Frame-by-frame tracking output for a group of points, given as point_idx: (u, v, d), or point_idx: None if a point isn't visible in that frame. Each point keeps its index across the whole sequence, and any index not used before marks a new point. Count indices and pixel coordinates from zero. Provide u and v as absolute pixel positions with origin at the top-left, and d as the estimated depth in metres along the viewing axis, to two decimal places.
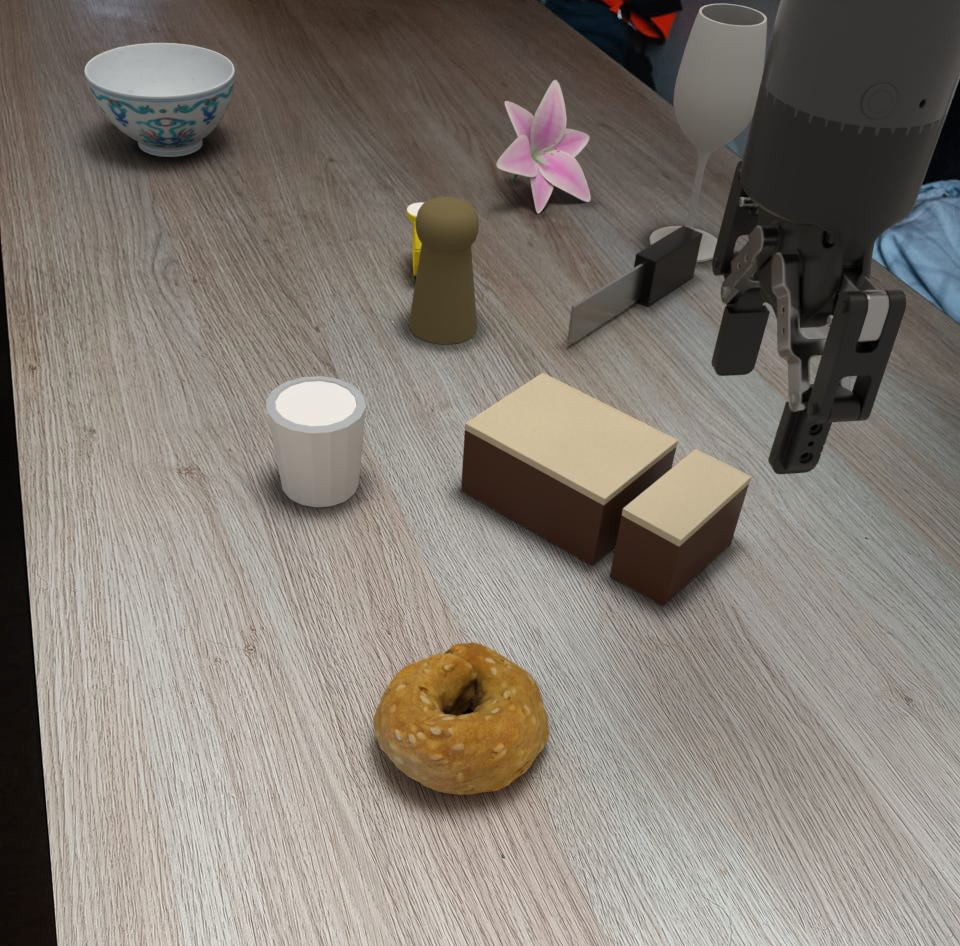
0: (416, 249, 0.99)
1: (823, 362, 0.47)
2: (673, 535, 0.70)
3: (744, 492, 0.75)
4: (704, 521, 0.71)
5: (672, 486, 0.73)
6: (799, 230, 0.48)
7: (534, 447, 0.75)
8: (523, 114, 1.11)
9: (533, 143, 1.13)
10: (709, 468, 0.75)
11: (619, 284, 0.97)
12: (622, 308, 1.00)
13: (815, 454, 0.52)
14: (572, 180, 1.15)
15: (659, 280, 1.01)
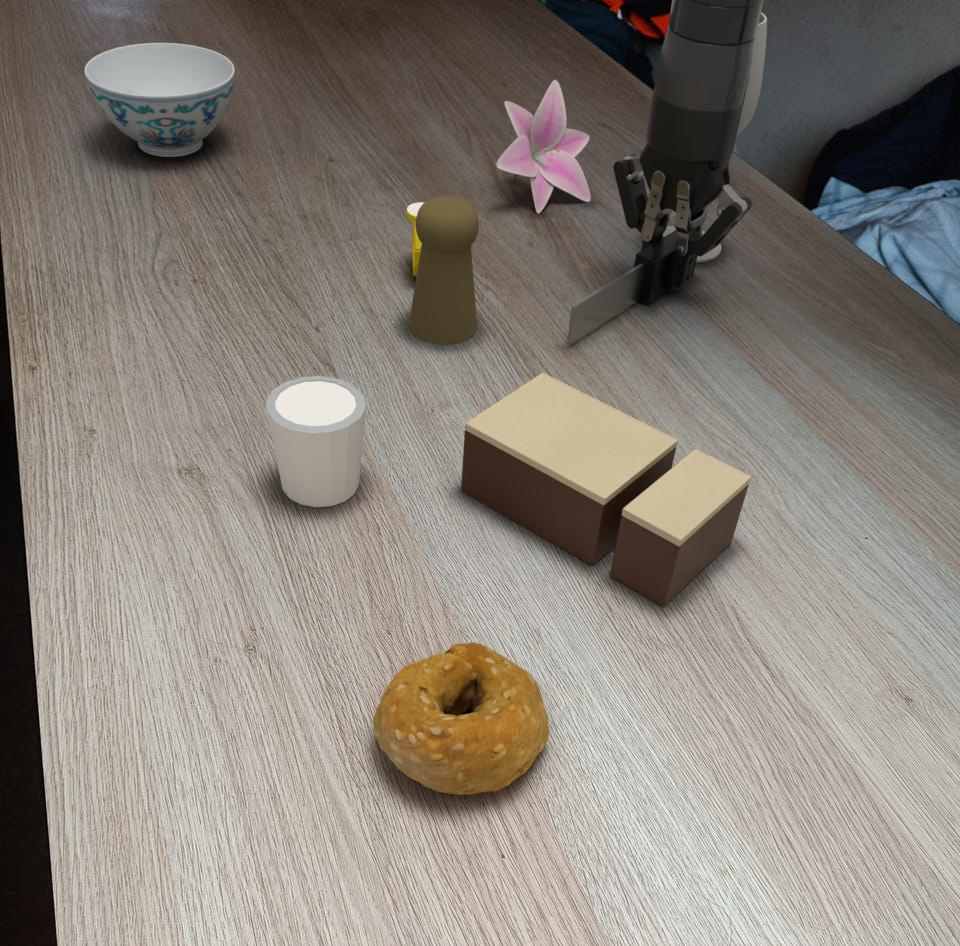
0: (416, 249, 0.99)
1: (711, 230, 0.96)
2: (673, 535, 0.70)
3: (744, 492, 0.75)
4: (704, 521, 0.71)
5: (672, 486, 0.73)
6: (687, 166, 0.95)
7: (534, 447, 0.75)
8: (523, 114, 1.11)
9: (533, 143, 1.13)
10: (709, 468, 0.75)
11: (619, 284, 0.97)
12: (622, 308, 1.00)
13: (689, 274, 1.02)
14: (572, 180, 1.15)
15: (659, 280, 1.01)
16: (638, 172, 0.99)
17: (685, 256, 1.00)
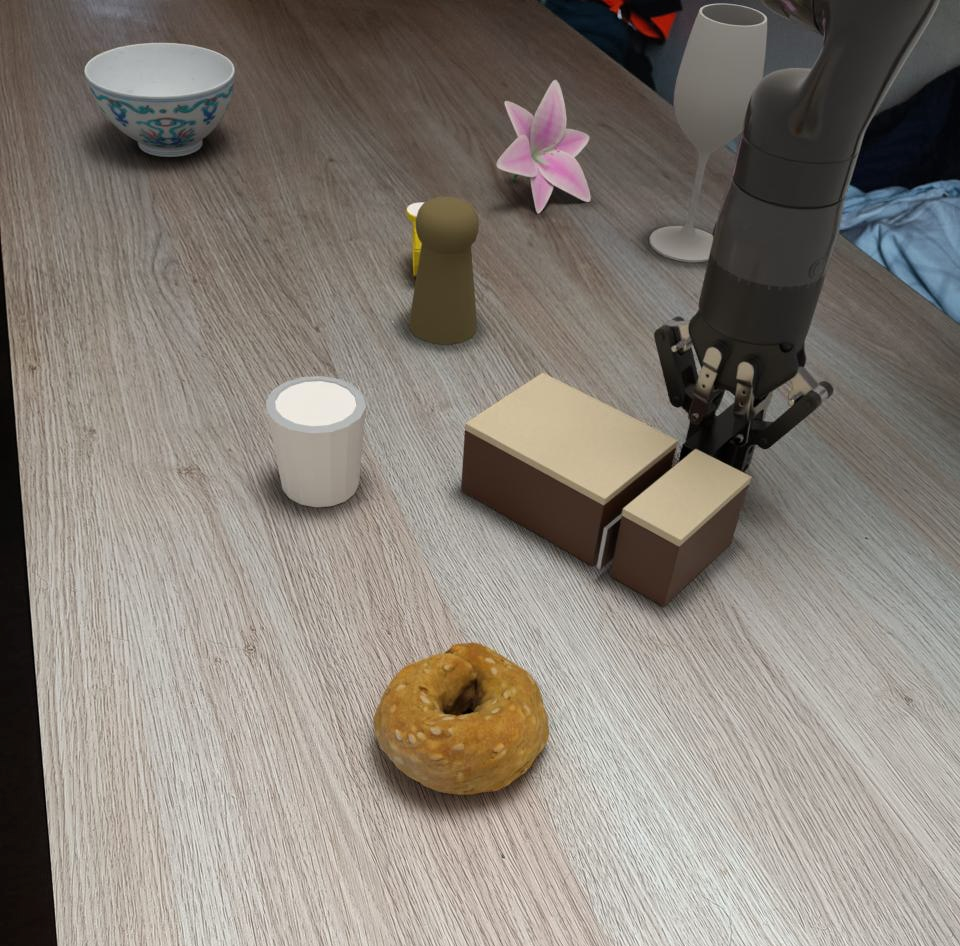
0: (416, 249, 0.99)
1: (780, 422, 0.76)
2: (673, 535, 0.70)
3: (744, 492, 0.75)
4: (704, 521, 0.71)
5: (672, 486, 0.73)
6: (751, 344, 0.74)
7: (534, 447, 0.75)
8: (523, 114, 1.11)
9: (533, 143, 1.13)
10: (709, 468, 0.75)
11: None
12: None
13: (749, 463, 0.81)
14: (572, 180, 1.15)
15: None
16: (686, 342, 0.78)
17: (744, 445, 0.79)
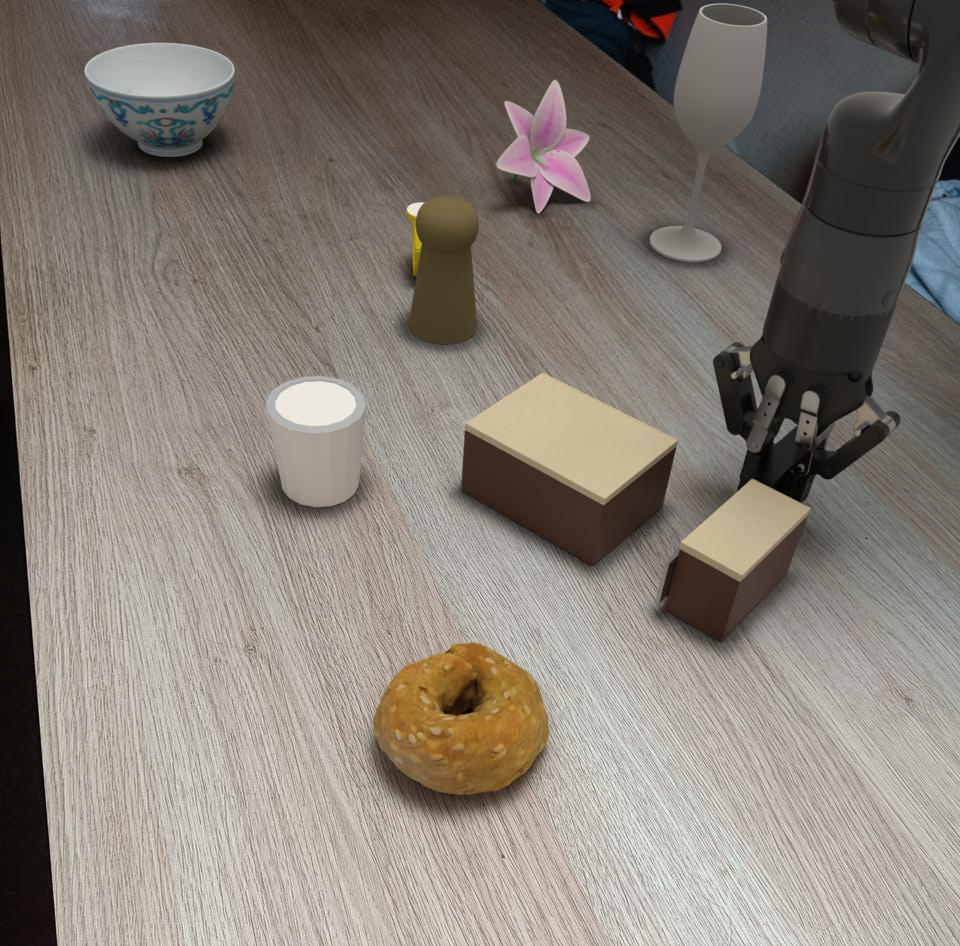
0: (416, 249, 0.99)
1: (844, 452, 0.73)
2: (734, 570, 0.68)
3: (803, 523, 0.73)
4: (764, 555, 0.69)
5: (730, 518, 0.71)
6: (816, 372, 0.72)
7: (534, 447, 0.75)
8: (523, 114, 1.11)
9: (533, 143, 1.13)
10: (767, 499, 0.73)
11: None
12: None
13: (808, 492, 0.79)
14: (572, 180, 1.15)
15: None
16: (746, 369, 0.76)
17: (805, 475, 0.77)
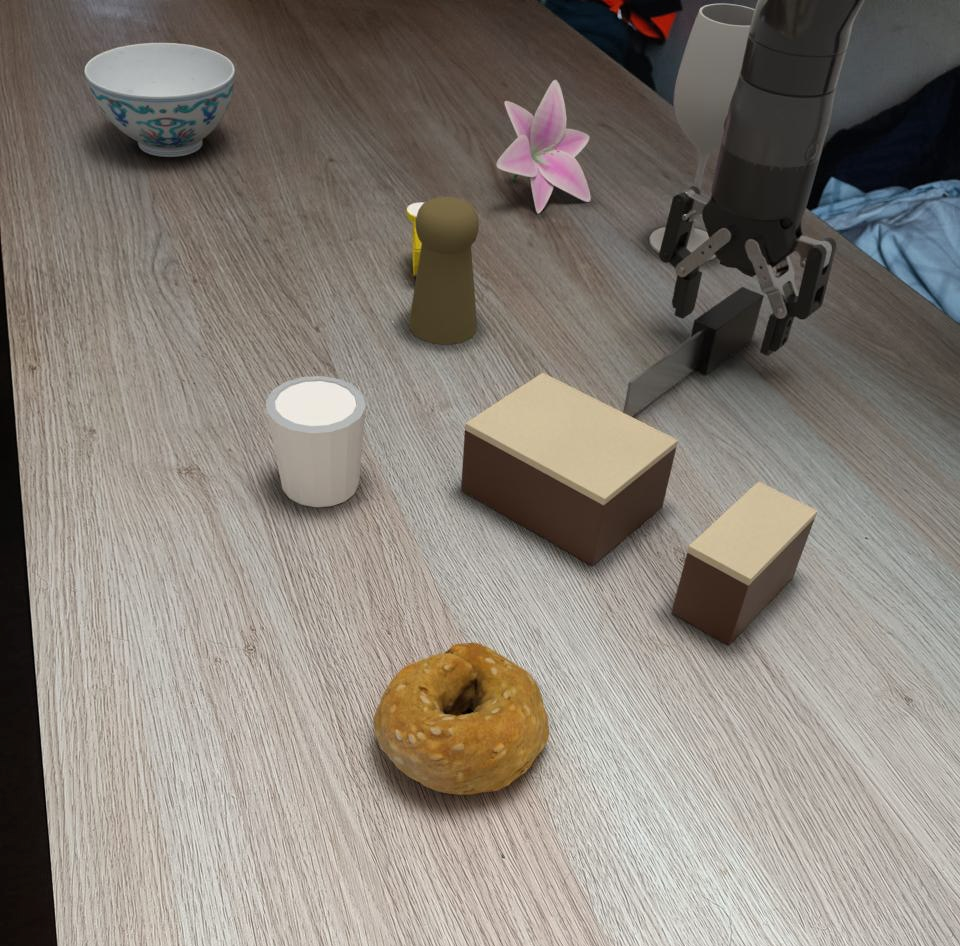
0: (416, 249, 0.99)
1: (804, 286, 0.87)
2: (742, 574, 0.68)
3: (810, 526, 0.73)
4: (772, 558, 0.69)
5: (737, 521, 0.71)
6: (756, 223, 0.87)
7: (534, 447, 0.75)
8: (523, 114, 1.11)
9: (533, 143, 1.13)
10: (774, 502, 0.73)
11: (677, 354, 0.90)
12: (679, 378, 0.92)
13: (787, 337, 0.92)
14: (572, 180, 1.15)
15: (718, 347, 0.93)
16: (695, 215, 0.91)
17: (784, 318, 0.90)
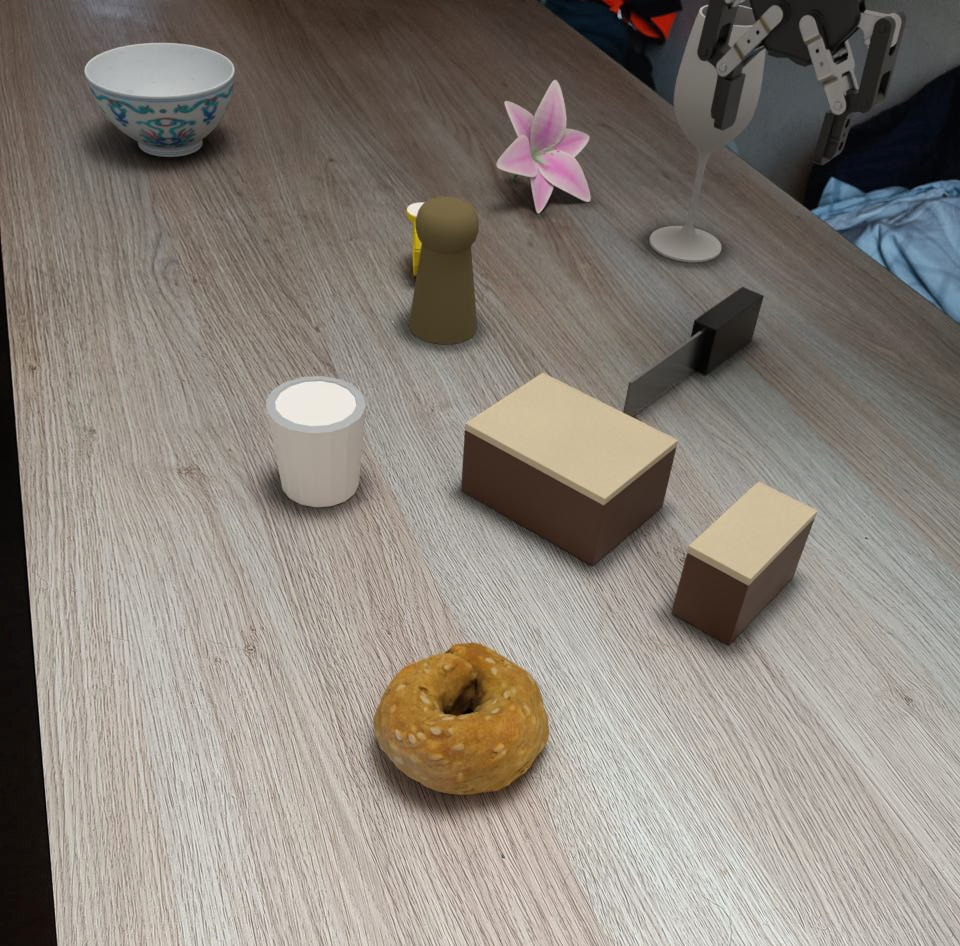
0: (416, 249, 0.99)
1: (867, 70, 0.75)
2: (742, 574, 0.68)
3: (810, 526, 0.73)
4: (772, 558, 0.69)
5: (737, 521, 0.71)
6: None
7: (534, 447, 0.75)
8: (523, 114, 1.11)
9: (533, 143, 1.13)
10: (774, 502, 0.73)
11: (677, 354, 0.90)
12: (679, 378, 0.92)
13: (844, 142, 0.81)
14: (572, 180, 1.15)
15: (718, 347, 0.93)
16: None
17: (842, 115, 0.79)
